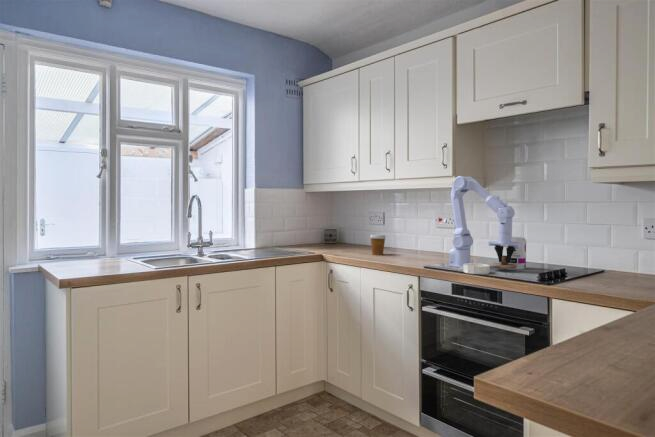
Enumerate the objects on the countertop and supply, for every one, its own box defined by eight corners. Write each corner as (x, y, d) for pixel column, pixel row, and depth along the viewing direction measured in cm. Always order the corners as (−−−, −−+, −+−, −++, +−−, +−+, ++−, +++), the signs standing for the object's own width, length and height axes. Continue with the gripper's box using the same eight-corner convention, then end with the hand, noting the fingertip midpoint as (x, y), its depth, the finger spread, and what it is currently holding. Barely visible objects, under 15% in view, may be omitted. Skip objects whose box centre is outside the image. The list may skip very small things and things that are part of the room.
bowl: (459, 273, 206) (459, 265, 205) (469, 270, 214) (469, 262, 214) (483, 275, 198) (483, 267, 198) (493, 272, 207) (493, 264, 207)
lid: (488, 266, 210) (488, 256, 210) (497, 264, 218) (497, 254, 217) (512, 269, 203) (512, 257, 203) (520, 266, 211) (520, 255, 211)
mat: (482, 271, 211) (482, 270, 211) (491, 268, 219) (491, 267, 219) (513, 274, 202) (513, 273, 202) (521, 271, 210) (521, 270, 210)
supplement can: (524, 268, 222) (524, 236, 221) (526, 270, 214) (527, 238, 213) (506, 267, 224) (506, 236, 224) (508, 269, 216) (508, 237, 216)
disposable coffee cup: (371, 255, 270) (371, 235, 269) (368, 253, 279) (368, 234, 279) (387, 255, 271) (387, 235, 271) (383, 253, 280) (383, 234, 280)
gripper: (486, 232, 211) (485, 261, 212) (518, 234, 202) (517, 264, 202) (492, 231, 217) (491, 260, 217) (523, 233, 207) (523, 263, 208)
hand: (504, 262), depth 210 cm, fingers closed on lid, 3 cm apart
